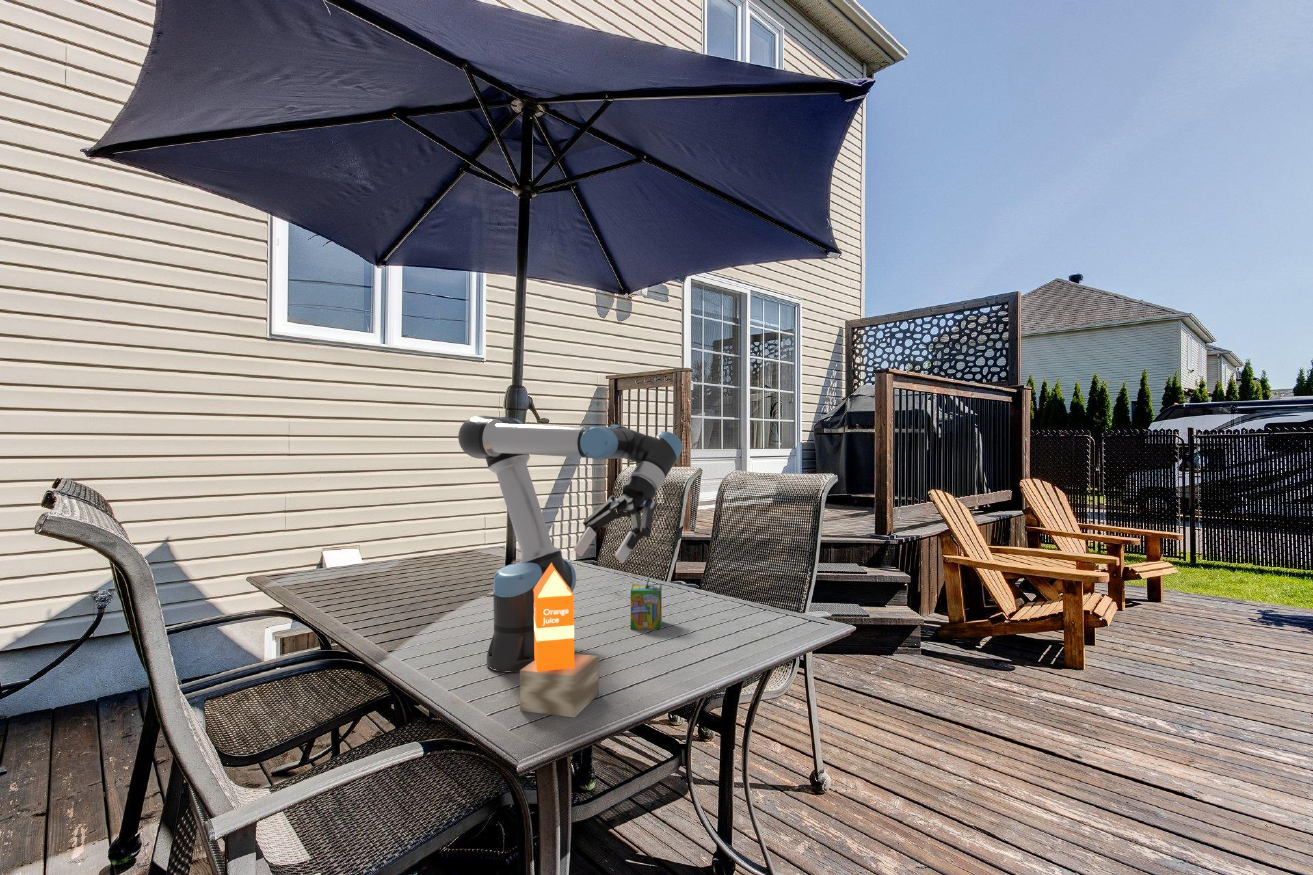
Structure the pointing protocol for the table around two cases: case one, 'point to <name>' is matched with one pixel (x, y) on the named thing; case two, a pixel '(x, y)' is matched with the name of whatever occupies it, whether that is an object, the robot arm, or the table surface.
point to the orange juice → (553, 622)
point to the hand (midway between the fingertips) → (597, 556)
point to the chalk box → (646, 606)
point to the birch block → (560, 687)
